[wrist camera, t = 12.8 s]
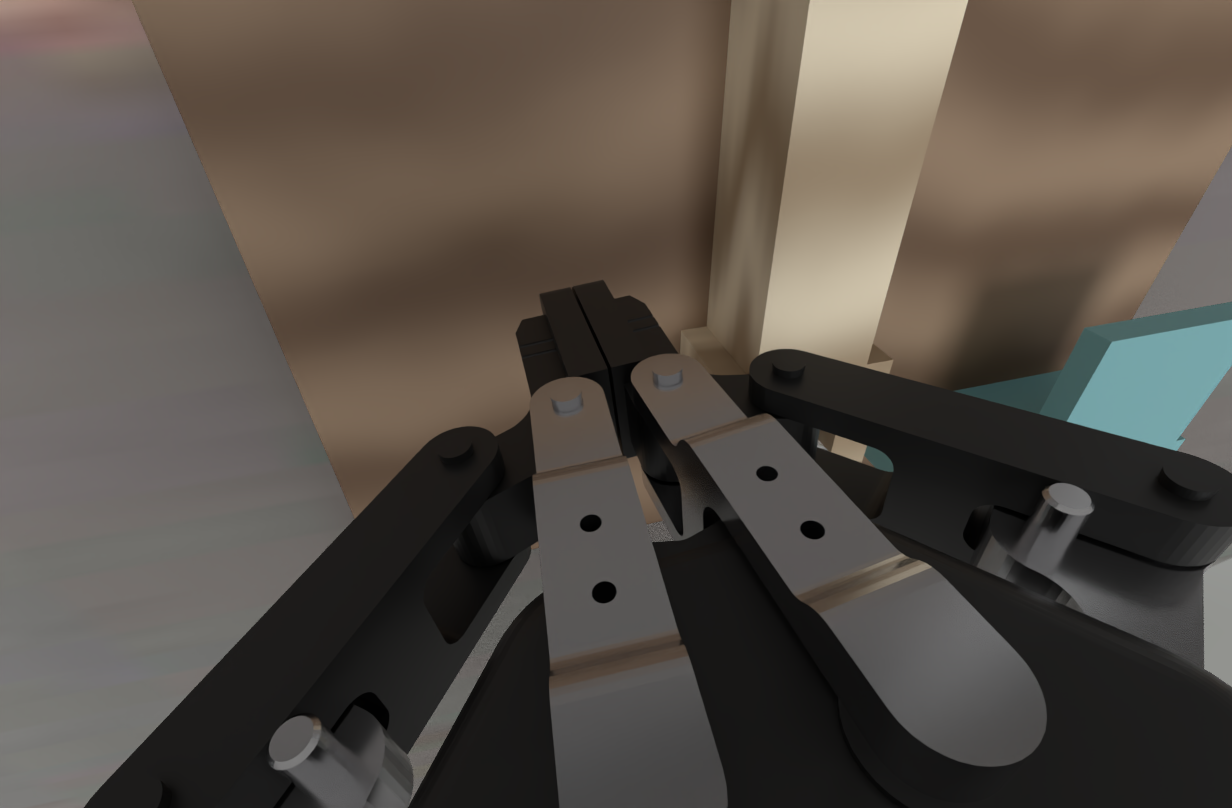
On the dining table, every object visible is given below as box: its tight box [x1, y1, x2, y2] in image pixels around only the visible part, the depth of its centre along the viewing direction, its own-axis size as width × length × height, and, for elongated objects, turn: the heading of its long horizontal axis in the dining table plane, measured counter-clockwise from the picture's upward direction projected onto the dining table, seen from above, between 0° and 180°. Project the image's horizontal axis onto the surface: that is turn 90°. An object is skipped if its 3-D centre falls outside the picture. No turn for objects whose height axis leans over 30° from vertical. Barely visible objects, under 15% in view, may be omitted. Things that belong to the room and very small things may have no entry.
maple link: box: [680, 0, 968, 463], centre depth 18 cm, size 18×6×4 cm, turn 2°
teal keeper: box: [864, 302, 1232, 472], centre depth 23 cm, size 8×12×6 cm
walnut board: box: [132, 0, 1232, 549], centre depth 21 cm, size 26×36×1 cm
